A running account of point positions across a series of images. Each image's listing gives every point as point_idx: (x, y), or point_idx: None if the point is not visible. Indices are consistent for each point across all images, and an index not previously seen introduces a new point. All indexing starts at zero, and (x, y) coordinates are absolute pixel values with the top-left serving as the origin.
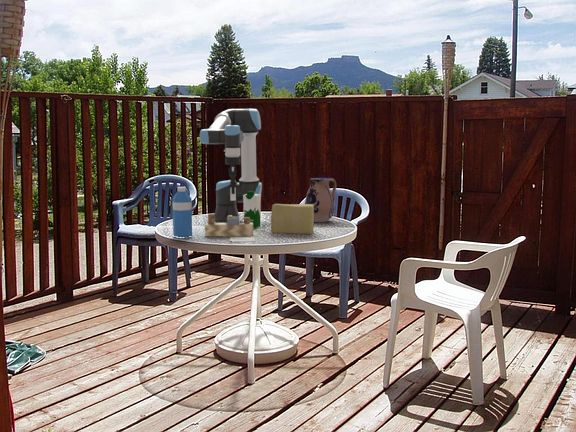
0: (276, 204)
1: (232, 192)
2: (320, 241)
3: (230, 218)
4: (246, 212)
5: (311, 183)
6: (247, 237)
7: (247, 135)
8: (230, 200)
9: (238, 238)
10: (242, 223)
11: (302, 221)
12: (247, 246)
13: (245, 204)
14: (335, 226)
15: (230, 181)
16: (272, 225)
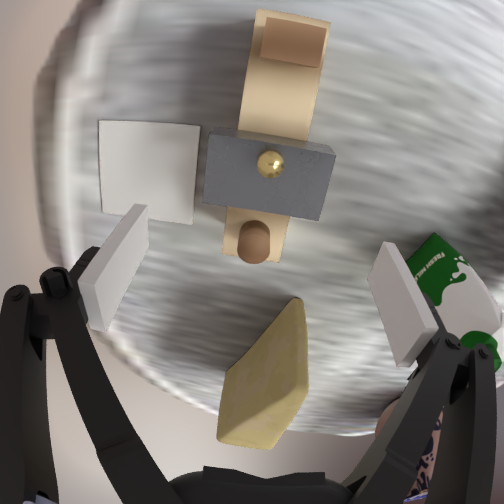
0: (283, 398)
1: (84, 261)
2: (124, 357)
3: (239, 158)
4: (448, 279)
5: (423, 481)
6: (179, 197)
7: None
8: (134, 204)
9: (160, 158)
10: (259, 213)
11: (231, 389)
12: (39, 178)
13: (469, 301)
14: (324, 417)
15: (482, 355)
16: (291, 318)
